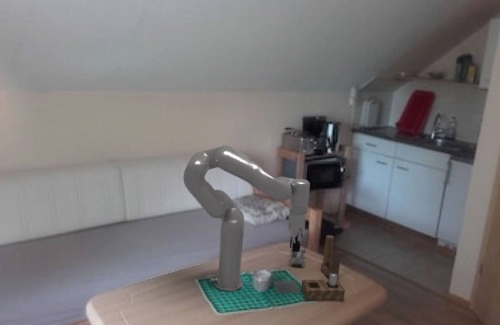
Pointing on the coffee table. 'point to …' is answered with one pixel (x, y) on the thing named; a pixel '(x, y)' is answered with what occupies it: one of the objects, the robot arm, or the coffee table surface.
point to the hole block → (322, 291)
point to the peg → (294, 254)
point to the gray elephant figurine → (298, 258)
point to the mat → (286, 287)
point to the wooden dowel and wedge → (330, 258)
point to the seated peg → (332, 280)
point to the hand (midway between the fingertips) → (294, 249)
